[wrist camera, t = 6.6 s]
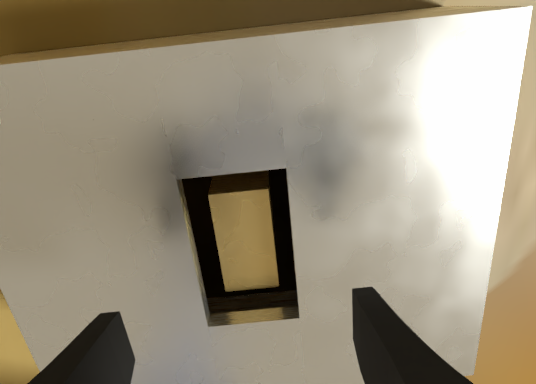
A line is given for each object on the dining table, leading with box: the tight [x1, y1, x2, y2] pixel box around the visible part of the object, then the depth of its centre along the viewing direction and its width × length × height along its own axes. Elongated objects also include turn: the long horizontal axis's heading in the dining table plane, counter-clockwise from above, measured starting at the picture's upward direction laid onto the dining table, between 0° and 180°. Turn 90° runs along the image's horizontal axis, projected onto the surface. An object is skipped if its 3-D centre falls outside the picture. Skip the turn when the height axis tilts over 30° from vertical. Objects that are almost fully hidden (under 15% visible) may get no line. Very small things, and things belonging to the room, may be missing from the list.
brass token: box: [208, 170, 279, 292], centre depth 20 cm, size 5×2×5 cm, turn 6°
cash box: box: [0, 6, 533, 384], centre depth 19 cm, size 16×20×6 cm
